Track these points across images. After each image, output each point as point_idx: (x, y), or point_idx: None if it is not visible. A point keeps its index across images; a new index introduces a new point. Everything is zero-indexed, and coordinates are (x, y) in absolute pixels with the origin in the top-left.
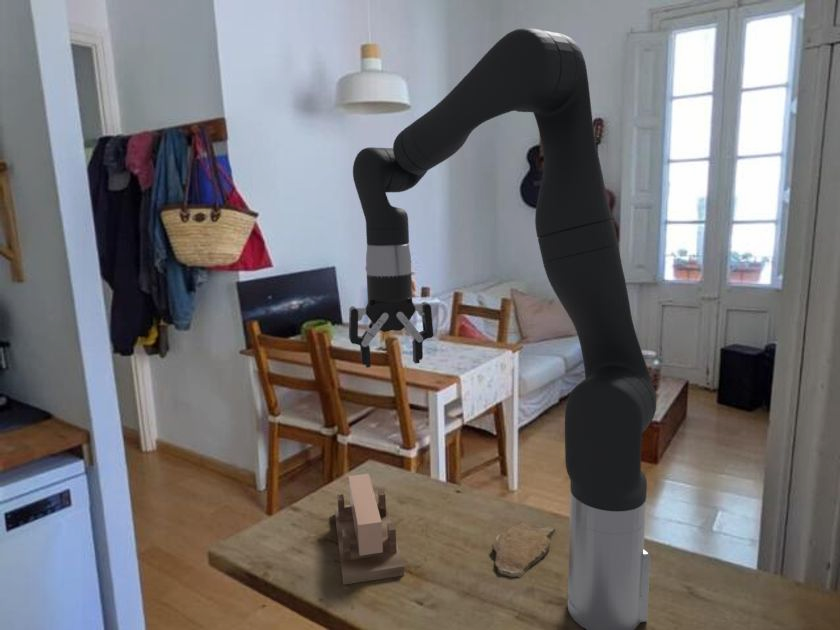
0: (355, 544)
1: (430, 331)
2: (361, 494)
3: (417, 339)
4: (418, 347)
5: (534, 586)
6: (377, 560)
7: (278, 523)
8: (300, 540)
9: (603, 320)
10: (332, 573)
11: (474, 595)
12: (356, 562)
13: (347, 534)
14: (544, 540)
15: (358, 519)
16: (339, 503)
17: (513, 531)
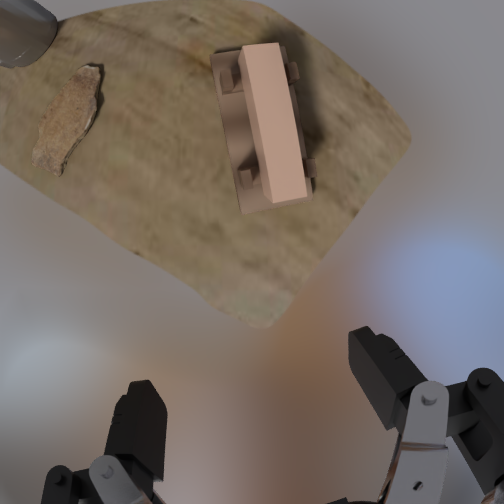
0: None
1: (52, 491)
2: (281, 128)
3: (115, 469)
4: (120, 435)
5: (72, 56)
6: None
7: (373, 182)
8: (344, 140)
9: None
10: None
11: (133, 33)
12: None
13: (290, 65)
14: (42, 125)
15: (279, 55)
16: (311, 158)
17: (69, 141)
